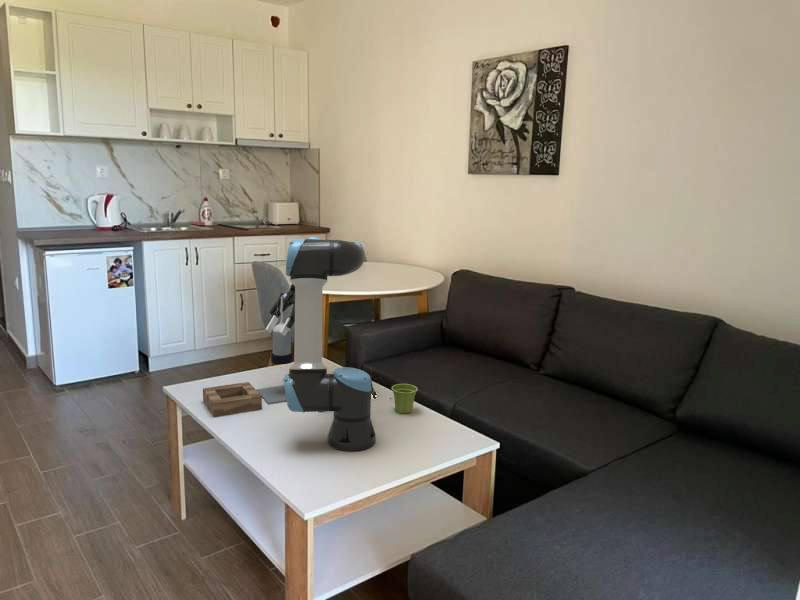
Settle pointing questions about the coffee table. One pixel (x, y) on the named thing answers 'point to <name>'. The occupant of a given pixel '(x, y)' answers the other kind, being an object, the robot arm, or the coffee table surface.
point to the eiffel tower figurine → (372, 387)
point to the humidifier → (281, 343)
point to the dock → (232, 399)
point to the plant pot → (404, 397)
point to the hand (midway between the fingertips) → (275, 332)
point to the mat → (273, 394)
